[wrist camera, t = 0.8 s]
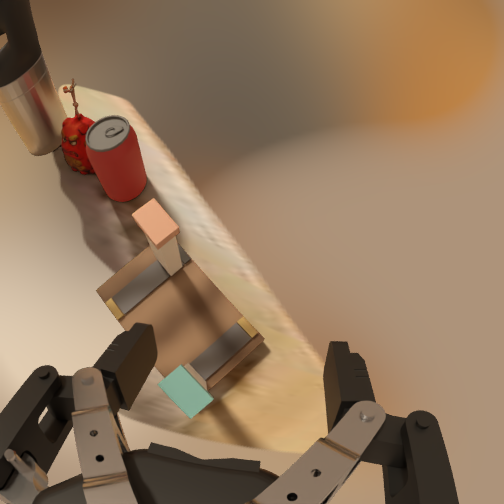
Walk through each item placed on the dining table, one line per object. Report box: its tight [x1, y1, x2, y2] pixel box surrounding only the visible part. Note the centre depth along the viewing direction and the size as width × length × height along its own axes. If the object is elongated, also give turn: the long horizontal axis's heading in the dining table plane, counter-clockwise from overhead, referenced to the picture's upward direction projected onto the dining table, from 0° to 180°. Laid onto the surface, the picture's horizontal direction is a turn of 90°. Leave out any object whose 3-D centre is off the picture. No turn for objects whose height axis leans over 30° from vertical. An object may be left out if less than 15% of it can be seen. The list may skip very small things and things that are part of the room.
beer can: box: [85, 115, 147, 202], centre depth 35 cm, size 7×7×12 cm
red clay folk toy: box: [61, 79, 95, 175], centre depth 34 cm, size 8×7×15 cm
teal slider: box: [158, 363, 214, 419], centre depth 26 cm, size 4×2×12 cm, turn 43°
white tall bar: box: [132, 198, 182, 276], centre depth 30 cm, size 4×2×12 cm, turn 43°
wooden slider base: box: [96, 242, 264, 391], centre depth 35 cm, size 18×12×2 cm, turn 43°
